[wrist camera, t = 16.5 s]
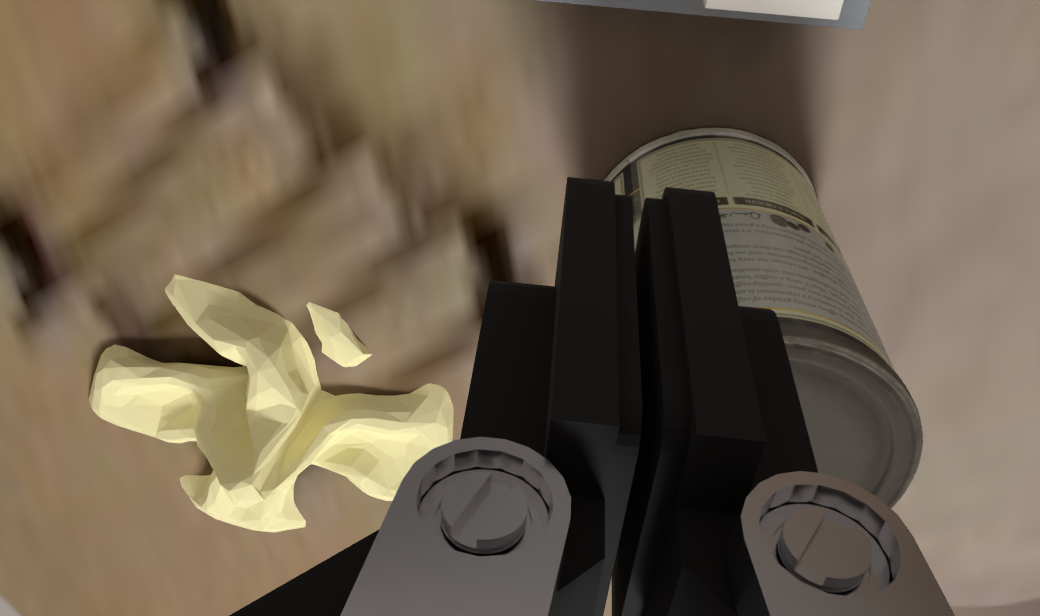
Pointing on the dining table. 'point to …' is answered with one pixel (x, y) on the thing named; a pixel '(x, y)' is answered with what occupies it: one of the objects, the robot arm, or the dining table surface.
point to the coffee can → (795, 296)
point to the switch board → (692, 3)
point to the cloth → (267, 409)
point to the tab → (782, 7)
